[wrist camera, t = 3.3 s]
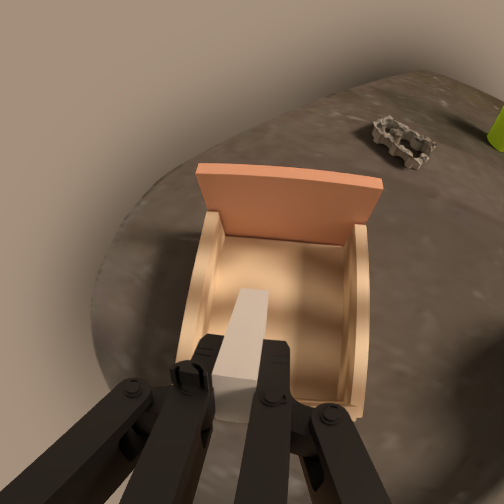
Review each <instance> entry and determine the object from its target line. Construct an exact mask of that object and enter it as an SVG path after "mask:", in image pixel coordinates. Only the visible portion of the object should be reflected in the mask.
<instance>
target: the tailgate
mask: <svg viewBox="0 0 504 504" xmlns="http://www.w3.org/2000/svg"><path fill="white" fill-rule="evenodd" d="M196 176H197V179H198V182H199V185H200V188H201V191H202V194H203V197H204V200H205V203H206V206H207V209H208V212H219V216H220V219H221V223H222V226H223V229H224V233H225V236H231V237H243V238H255V239H266V240H278V241H289V242H300V243H311V244H321V245H332V246H342V247H344V245H345V243H346V241H347V239H348V237H349V235H350V233H351V231H352V229H353V227H354V225H355V224H358V225H365V224H366V222H367V220H368V218H369V216H370V214H371V212H372V211H373V209H374V207H375V205H376V203H377V201H378V199H379V197H380V195H381V193H382V191H383V184H382V179H380V178H374V177H367V176H361V175H354V174H346V173H338V172H330V171H321V170H312V169H302V168H291V167H278V166H263V165H244V164H213V163H199V164H198V167H197V170H196Z"/></svg>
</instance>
